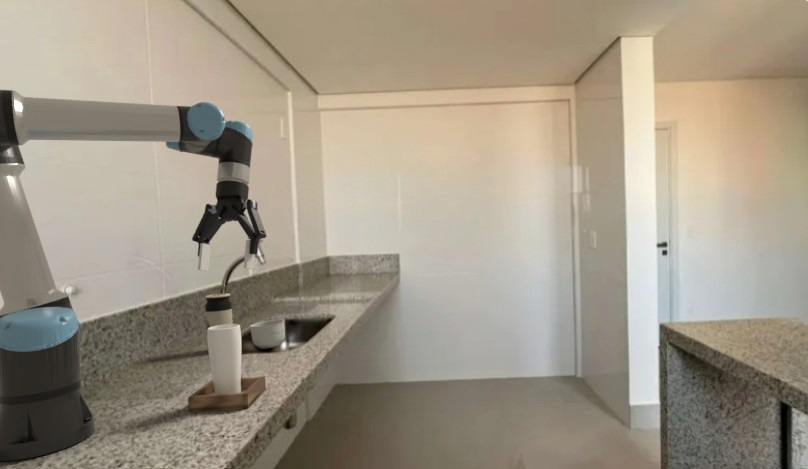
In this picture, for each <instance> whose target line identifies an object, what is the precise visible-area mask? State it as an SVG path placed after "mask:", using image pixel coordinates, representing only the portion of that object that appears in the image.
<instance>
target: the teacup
mask: <svg viewBox="0 0 808 469" xmlns="http://www.w3.org/2000/svg"><path fill="white" fill-rule="evenodd" d="M249 328H250V334H251V341H252V343H253V345H254V346H256V347H257V348H259V349H263V350H265V349H271V348H272V349H273V348H275V347H277V346H280V345H281V344H282V343H283V342H284V341H285V338H286V329H285V328H286V327H285V320H284V319H270V320H262V321H259V322H256V323H252V324H251V325H249Z"/></svg>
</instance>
